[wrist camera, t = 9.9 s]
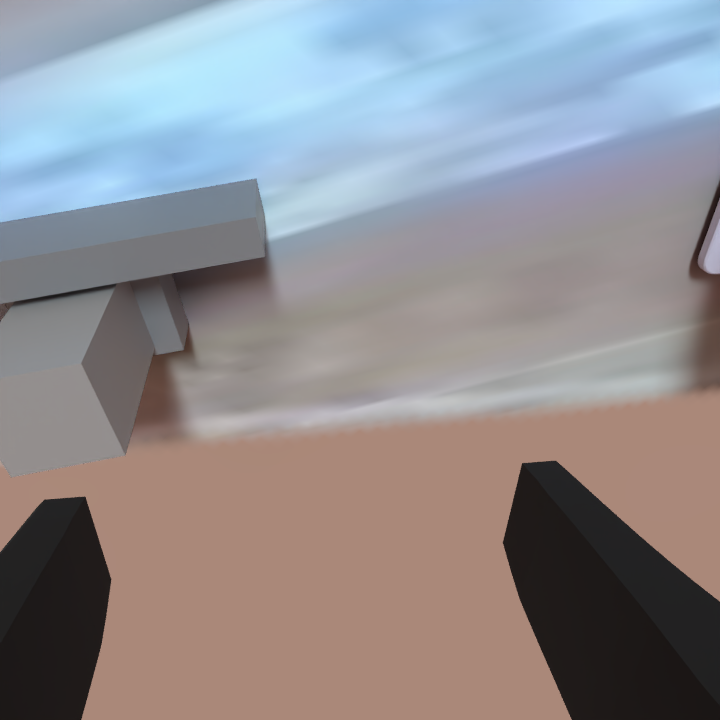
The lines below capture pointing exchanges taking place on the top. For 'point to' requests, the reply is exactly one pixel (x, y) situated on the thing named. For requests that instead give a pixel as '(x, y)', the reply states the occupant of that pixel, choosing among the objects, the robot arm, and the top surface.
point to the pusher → (102, 313)
